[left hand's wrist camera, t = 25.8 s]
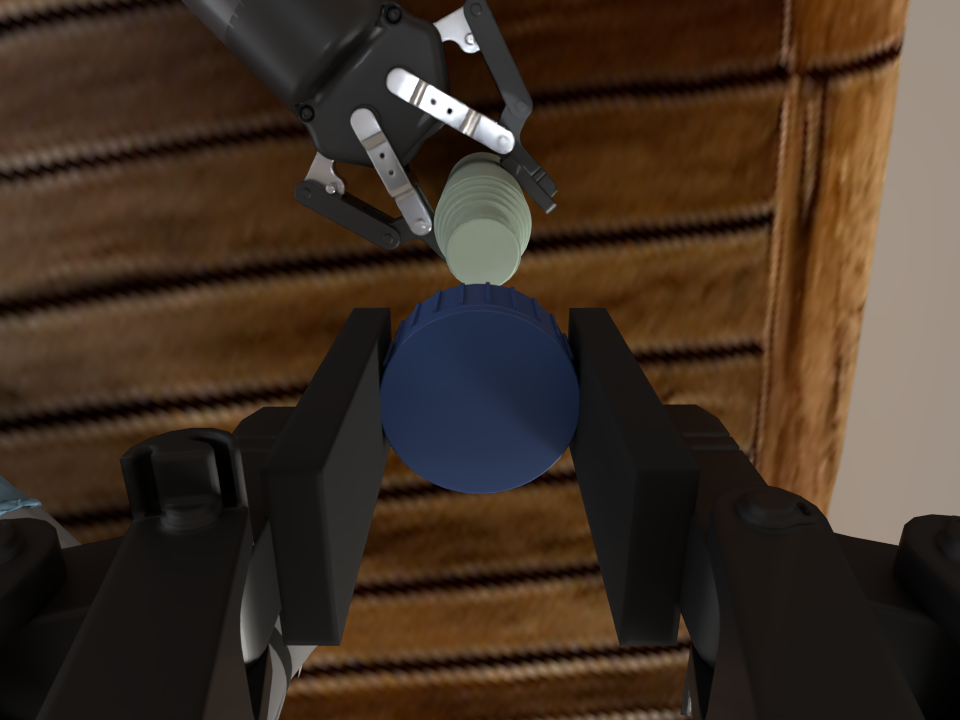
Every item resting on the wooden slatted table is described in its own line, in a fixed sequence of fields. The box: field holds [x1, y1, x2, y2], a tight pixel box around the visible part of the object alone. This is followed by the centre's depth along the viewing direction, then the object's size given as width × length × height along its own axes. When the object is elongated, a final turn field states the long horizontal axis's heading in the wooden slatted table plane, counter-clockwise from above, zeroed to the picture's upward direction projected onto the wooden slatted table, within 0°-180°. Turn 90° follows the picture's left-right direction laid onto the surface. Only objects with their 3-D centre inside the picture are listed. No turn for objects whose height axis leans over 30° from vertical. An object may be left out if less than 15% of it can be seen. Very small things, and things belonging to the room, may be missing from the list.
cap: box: [380, 282, 580, 493], centre depth 14 cm, size 4×4×2 cm
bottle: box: [434, 152, 531, 285], centre depth 33 cm, size 4×4×18 cm
